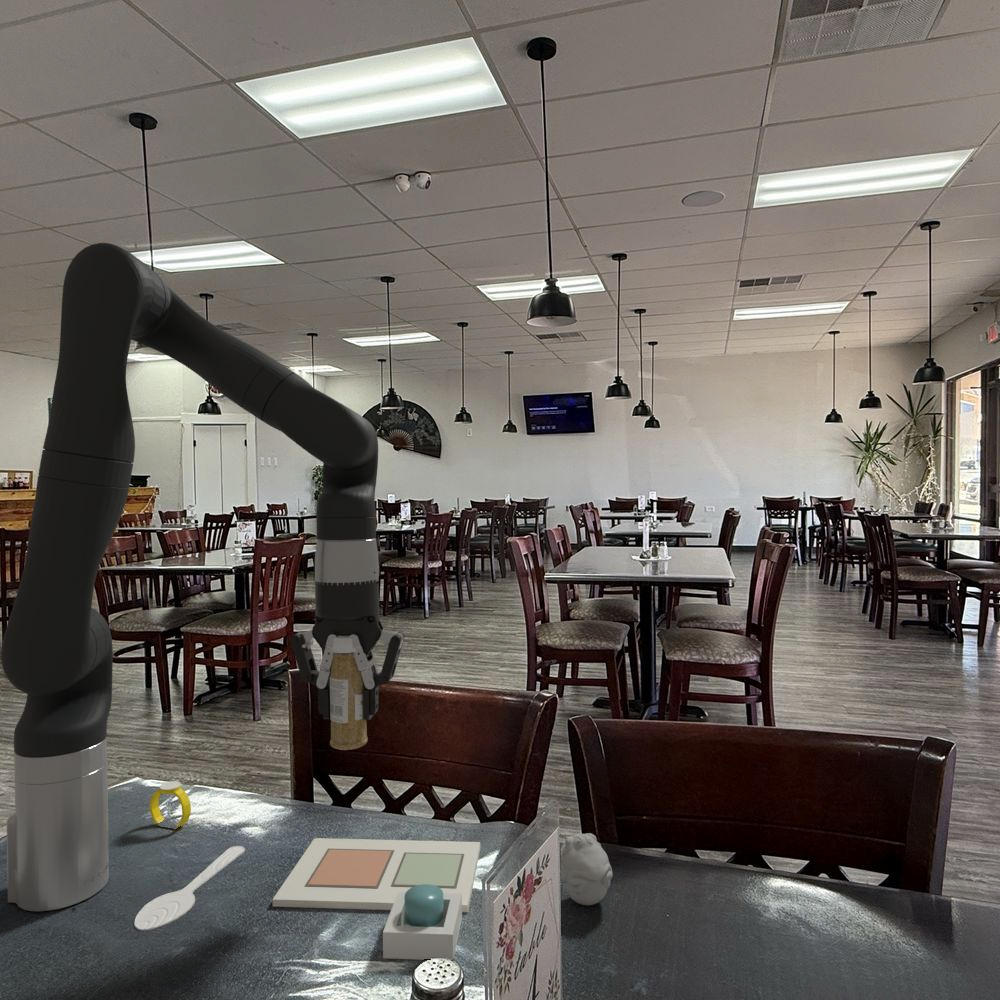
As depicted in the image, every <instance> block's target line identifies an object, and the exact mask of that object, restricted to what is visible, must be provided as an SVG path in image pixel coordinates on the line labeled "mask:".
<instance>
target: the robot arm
mask: <svg viewBox="0 0 1000 1000" xmlns="http://www.w3.org/2000/svg"><path fill="white" fill-rule="evenodd" d="M65 272H66V273H65V276H64V279H63V285H62V294H61V295H62V296H61V312H60V313H61V315H60V316H61V317H60V331H59V333H60V334H59V336H60V338H59V350H58V351H59V352H58V361H57V369H56V375H55V380H54V386H53V392H52V393H53V394H52V398H51V404H50V409H49V411H50V412H49V416H48V423H47V424H48V425H47V429H46V433H45V436H44V441H43V446H42V451H41V455H40V456H41V457H40V462H39V463H40V464H39V469H38V476H37V481H36V488H35V489H36V490H35V496H34V503H33V509H32V515H31V521H30V527H29V533H28V541H27V548H26V554H25V560H24V561H25V562H24V567H23V571H22V575H21V579H20V582H19V585H18V589H17V593H16V596H15V598H14V604H13V606H12V609H11V612H10V616H9V620H8V623H7V624H6V625H7V626H6V629H5V632H4V634H3V639H2V644H1V649H0V661H1V662H0V663H1V667H2V671H3V672H4V673H3V674H4V675H5V677H6V678H7V680H8V681H9V682H10V684H12V686H13V687H15V688H16V689H17V690H18V691H20V692H22V693H24V694H27V696H26V701H25V706H24V708H23V711H22V713H21V715H20V718H19V720H18V721H17V723H16V725H15V729H14V732H13V760H14V761H13V762H14V766H13V767H14V768H13V770H14V814H12V815H11V816H9V817H8V818H7V820H6V855H7V856H6V865H7V866H6V867H7V869H6V870H7V877H6V878H7V879H6V880H7V903H12V904H13V903H14V904H16V905H17V906H18V907H19V908H20V909H22V910H24V911H27V912H28V911H29V912H45V911H47V912H48V911H54V910H60V909H63V908H66V907H71V906H72V905H75V904H79V903H80V902H81V903H82V901H85V900H87V899H90V898H91V897H92V896H94V895H96V894H97V893H98V892H100V891H101V890H102V889H104V887H105V886H106V885H107V884H108V882H109V877H110V869H109V866H110V861H109V805H108V804H109V802H108V801H109V799H108V798H109V797H108V792H109V791H108V790H109V789H108V788H109V787H108V785H109V784H108V742H107V739H108V737H107V732H108V731H107V728H108V727H107V726H108V718H109V716H110V711H111V707H112V701H113V667H114V665H113V662H114V661H113V659H114V658H113V657H114V656H113V655H114V654H113V649H114V648H113V640H112V639H113V638H112V634H111V628H110V627H109V624H108V622H107V620H106V619H105V617H104V616H103V615H102V614H101V613H100V612H99V611H97V610H96V609H94V608H93V607H92V606H93V597H94V588H95V583H96V578H97V575H98V571H99V568H100V566H101V562H102V560H103V558H104V556H105V553H106V550H107V548H108V546H109V544H110V543H111V540H112V537H113V536H114V533H115V531H116V529H117V527H118V525H119V523H120V520H121V517H122V514H123V512H124V510H125V506H126V503H127V500H128V499H127V498H128V494H129V490H130V487H131V486H130V485H131V479H132V473H133V468H134V462H135V454H136V453H135V452H136V440H135V439H136V438H135V430H134V423H133V416H132V412H131V408H130V407H131V406H130V402H129V395H128V389H127V366H128V365H127V364H128V357H129V353H130V347H131V343H132V341H133V342H136V343H138V344H141V345H143V346H145V347H148V348H150V349H152V350H154V351H157V352H158V353H162V354H163V355H165V356H167V357H169V358H172V359H173V360H175V361H176V362H178V363H180V364H181V365H183V366H185V367H186V368H188V369H190V370H191V371H193V373H195V374H197V376H199V377H200V378H202V379H203V380H204V381H205V382H206V383H208V384H209V385H210V386H212V388H213V389H215V390H216V391H218V392H219V393H220V394H221V395H223V396H224V397H226V398H227V399H228V400H229V401H231V402H232V403H234V404H236V405H237V406H239V407H240V408H241V409H243V410H245V411H246V412H248V413H249V414H251V415H252V416H254V417H255V418H256V419H258V420H260V421H261V422H263V423H264V424H266V425H268V426H270V427H272V429H273V428H274V429H275V430H278V431H279V432H281V433H283V434H284V435H285V436H286V437H288V438H289V439H290V440H292V442H293V443H295V444H296V445H297V446H299V447H300V448H301V449H303V450H304V451H305V452H307V453H308V454H310V455H311V456H312V457H314V458H315V459H317V460H319V461H320V462H321V463H323V466H322V469H323V472H322V491H321V493H320V495H319V497H318V499H317V505H316V546H315V555H314V590H315V591H314V592H315V593H314V596H315V598H314V600H315V601H314V602H315V603H314V607H315V610H314V611H315V622H314V624H313V627H312V628H311V629H310V630H307V631H303V630H301V631H299V632H297V633H295V634H293V635H291V637H290V638H289V641H290V645H291V648H292V652H293V655H294V659H295V662H296V664H297V668H298V672H299V675H300V678H301V681H302V682H303V683H304V684H311V685H314V686H315V687H316V688H317V711H318V714H319V715H322V719H323V720H331V719H330V678H329V677H330V671H331V665H332V660H333V656H332V655H333V654H334V653H333V652H331V648H332V647H333V639H334V638H337V637H338V636H350V637H349V638H351V639H352V644H353V648H355V649H356V652H355V653H353V654H355V656H354V657H355V660H356V663H357V667H358V670H359V671H360V672H361V675H362V678H363V681H364V684H365V689H364V690H363V718H364V720H366V721H370V720H372V718H373V717H374V716H375V714H376V713H377V712H378V710H379V686H382V685H387V684H389V682H390V680H392V679H393V678H394V675H395V672H396V668H397V665H398V662H399V658H400V654H401V651H402V648H403V644H404V641H405V638H406V637H405V634H404V633H403V632H401V631H398V632H393V631H390V630H386V629H384V626H383V625H382V623H381V620H380V589H379V588H380V585H379V584H380V583H379V579H380V578H379V576H380V565H379V553H378V552H379V551H378V545H377V517H376V516H377V514H376V513H377V512H376V510H377V509H376V499H375V497H376V487H377V479H378V478H377V477H378V466H379V440H378V434H377V431H376V429H375V427H374V426H373V424H372V423H371V422H370V421H369V420H368V419H366V418H365V417H363V416H362V415H361V414H359V413H357V412H356V411H354V410H352V409H351V408H349V407H348V406H347V405H345V404H342V403H341V402H339V401H338V400H337V399H334V398H332V397H331V396H329V395H328V394H325V393H324V392H322V391H321V390H319V389H317V388H315V387H313V385H312V384H310V382H309V381H307V380H306V379H304V378H303V377H302V376H301V375H299V374H298V373H296V372H294V371H293V370H291V369H290V368H288V367H287V366H285V365H284V364H282V363H281V362H280V361H278V360H276V359H274V358H272V357H271V356H270V355H268V354H267V353H265V352H263V351H261V349H260V350H259V349H258V348H256V347H254V346H253V345H251V344H249V343H247V342H245V341H243V340H241V339H239V338H237V337H236V336H233V335H231V334H230V333H228V332H226V331H224V330H223V329H221V328H219V327H218V326H216V325H215V324H214V323H212V322H210V321H209V320H208V319H207V318H205V317H203V316H202V315H201V314H199V312H197V311H195V310H194V309H193V308H192V307H191V306H190V305H189V304H187V302H186V301H184V300H183V298H181V297H180V296H179V295H178V294H177V293H176V292H174V290H173V289H171V288H170V287H169V286H168V285H167V284H166V283H165V282H164V280H163V279H162V278H161V277H160V276H159V274H158V273H157V272H156V271H155V270H153V269H152V268H150V266H148V265H147V264H146V263H144V261H142V260H141V259H139V258H138V257H137V256H135V255H134V254H133V253H131V252H129V250H126V249H124V248H122V246H119V245H116V244H113V243H109V242H98V243H93V244H90V245H87V246H85V247H84V248H83V249H81V250H80V251H79V252H77V253H76V254H75V256H74V257H73V258H72V259H71V260H70V263H69V265H68V266H67V269H66V271H65ZM380 639H381V640H382V643H383V645H382V646H383V649H384V650H385V651H386V654H385V657H384V662H383V664H382V668H381V671H380V672H378V669H377V666H376V658H375V655H374V652H373V649H374V648H375V646H376V644H377V643H378V642H379V640H380ZM314 640H315V641H316V643H317V644H318V646H319V648H320V649H321V650H322V652H323V656H322V659H321V662H320V665H319V669H320V670H318V667H317V663H316V661H315V657H314V653H313V651H312V648H313V646H314ZM359 653H360V654H359ZM361 660H362V661H361Z"/></svg>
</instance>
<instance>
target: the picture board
mask: <svg viewBox="0 0 1000 1000" xmlns="http://www.w3.org/2000/svg"><path fill="white" fill-rule="evenodd" d="M480 853H481V842H480V841H450V840H449V841H448V840H443V841H442V840H415V839H414V840H410V839H409V840H408V839H407V840H406V839H370V838H369V839H368V838H367V839H366V838H365V839H364V838H363V839H361V838H323V837H322V838H320V837H319V838H318V837H316V838H314V839H312V841H311V843H310V844H309V846H308V847H307V849H306V850H305V852H304V853H303V854H302V856H301V857H300V859H299V860H298V861H297V862H296V864H295V866H294V867H293V869H292V870H291V872H290V873H289V875H288V876H287V878H286V879H285V880H284V882H283V884H282V885H281V887H280V888H279V889H278V891H277V892H276V894H275V895H274V897H273V898H272V907H276V908H277V907H280V908H282V907H283V908H306V909H308V908H309V909H311V908H313V909H314V908H315V909H337V910H338V909H342V910H343V909H345V910H373V911H375V910H376V911H377V910H379V911H391V910H392V907H393V904H394V902H395V899H396V896H397V894H398V892H407V891H408V890H409V889H410V888H412V887H414V886H417V885H422V884H430V885H435V886H437V887H439V888H441V890H442V891H443V893H444V894H462V913H468V912H469V909H470V908H469V907H470V905H471V904H470V903H471V898H472V892H473V889H474V888H473V887H474V882H475V878H476V872H477V868H478V864H479V863H478V862H479V857H480Z"/></svg>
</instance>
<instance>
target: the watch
mask: <svg viewBox="0 0 1000 1000" xmlns="http://www.w3.org/2000/svg"><path fill="white" fill-rule="evenodd" d="M162 794H163V795H170V794H173V795H174V796H175V797H176V798H177V799H178V801H179V803H180V805H181V814H182V815H181V817H180V821H179V822H178V823H179V824H178V825H177V826H176V827H177V828H178V827H180V826H181V827H183V826H184V825H185V824H186V823H187V822H188V821H189V819H190V816H191V812H192V807H191V801H190V798H189V796H188V795H187V792H186V791H184V789H182V783H181V782H180V781H175V780H171V781H167V782H166V781H165V782H164V783H162V784H161V785H159V789H157V790H156V791H154V792H153V794H152V796H151V797H150V800H149V812H150V815H151V818H152V821H153V823H154V824H156V823H160V822H162V821H163V820H164V819H165V818H164V816H163V815H162V813H161V809H160V805H159V804H160V796H161V795H162ZM183 824H184V825H183ZM182 825H183V826H182ZM181 827H180V828H181ZM178 829H179V828H178Z"/></svg>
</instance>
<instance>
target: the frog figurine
mask: <svg viewBox="0 0 1000 1000" xmlns="http://www.w3.org/2000/svg"><path fill="white" fill-rule="evenodd" d="M565 838H566V839H565V841H564V843H563V844H562V846H561V848H560V850H561V876H560V881H561V883H562V884H563V887H564V889H565V890H566V893H567V894H568V895H569V897H570V898H571V899H572V900H573V901H574V902H576V903H577V904H579V905H583V906H593V905H596V904H598V903H599V902H600V901H602V899H604V897H605V896H606V894H607V891H608V889H609V888H610V887H611V880H612V878H613V874H614V873H613V869H612V866H611V864H610V861H609V857H608V854H607V853H606V851H605V850H604V848H603V847H602V845H601V843H600V842H598V841H597V837H596V835H594V834H593V833H591V832H589V833H588V832H587V833H576V834H574V835H573V836H572V835H570V836H567V837H565Z"/></svg>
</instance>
